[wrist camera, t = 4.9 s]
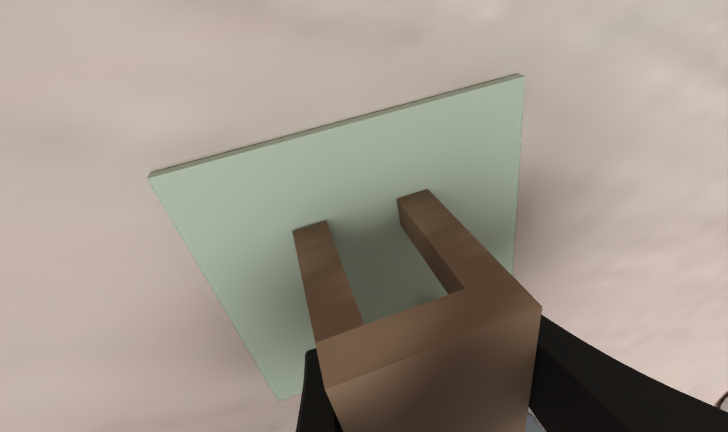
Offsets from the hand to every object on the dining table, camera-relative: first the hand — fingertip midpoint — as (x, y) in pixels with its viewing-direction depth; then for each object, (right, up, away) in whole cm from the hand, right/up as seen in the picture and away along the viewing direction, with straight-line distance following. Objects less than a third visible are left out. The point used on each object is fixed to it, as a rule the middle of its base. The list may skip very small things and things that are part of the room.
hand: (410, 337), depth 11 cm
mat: (-1, +2, +3) cm, 4 cm away
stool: (-1, +1, +3) cm, 3 cm away
